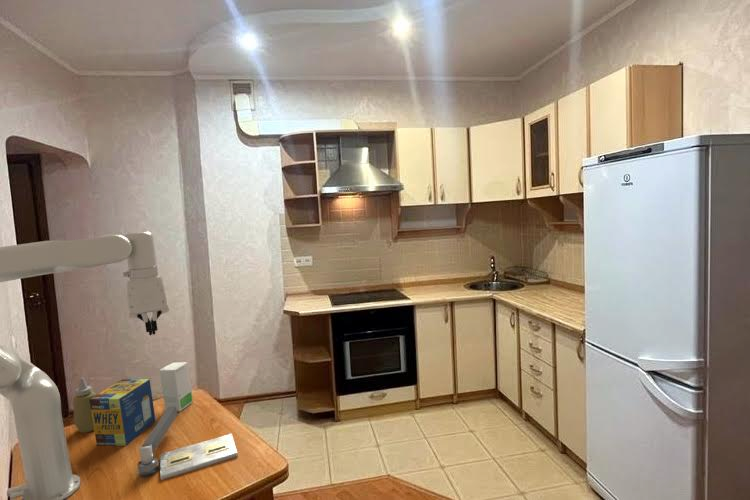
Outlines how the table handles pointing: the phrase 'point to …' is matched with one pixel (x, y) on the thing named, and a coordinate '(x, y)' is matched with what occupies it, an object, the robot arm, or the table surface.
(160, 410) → the table surface
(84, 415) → the squeeze bottle
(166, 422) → the lever
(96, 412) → the protein box
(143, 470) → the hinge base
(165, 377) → the skincare box
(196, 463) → the label panel
